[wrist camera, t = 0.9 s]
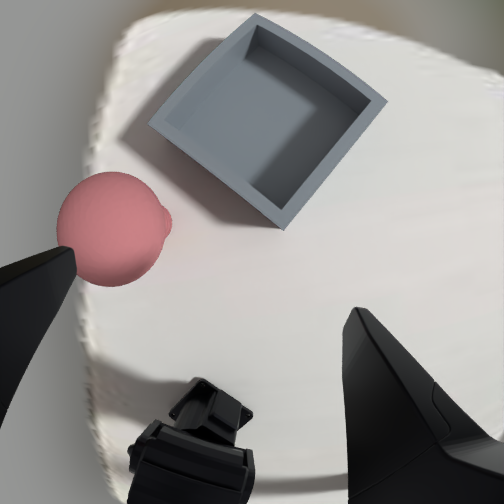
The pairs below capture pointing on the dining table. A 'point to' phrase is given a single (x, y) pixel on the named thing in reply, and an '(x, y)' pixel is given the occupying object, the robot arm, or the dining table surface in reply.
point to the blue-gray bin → (268, 116)
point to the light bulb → (113, 228)
